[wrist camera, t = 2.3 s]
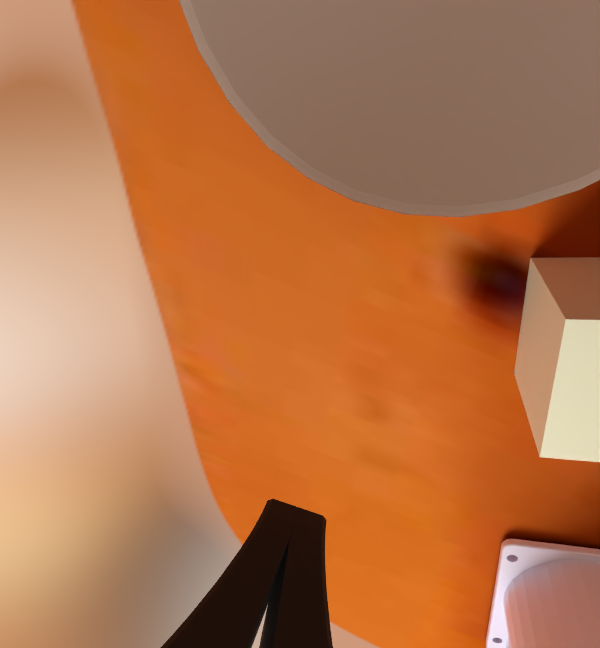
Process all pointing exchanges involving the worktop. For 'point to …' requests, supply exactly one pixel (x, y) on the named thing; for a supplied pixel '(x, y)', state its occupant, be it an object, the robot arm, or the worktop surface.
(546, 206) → the worktop surface
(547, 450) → the block
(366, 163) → the canned food
